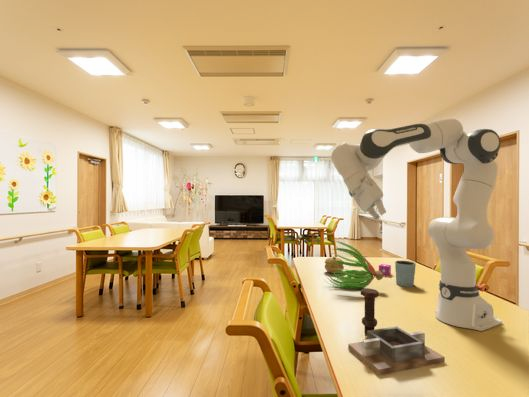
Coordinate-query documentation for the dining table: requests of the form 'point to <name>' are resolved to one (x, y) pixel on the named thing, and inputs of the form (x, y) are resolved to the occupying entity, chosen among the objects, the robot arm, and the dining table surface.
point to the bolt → (369, 309)
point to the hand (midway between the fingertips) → (380, 216)
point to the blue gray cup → (405, 273)
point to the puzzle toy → (385, 269)
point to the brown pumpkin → (333, 265)
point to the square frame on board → (394, 350)
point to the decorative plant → (355, 277)
